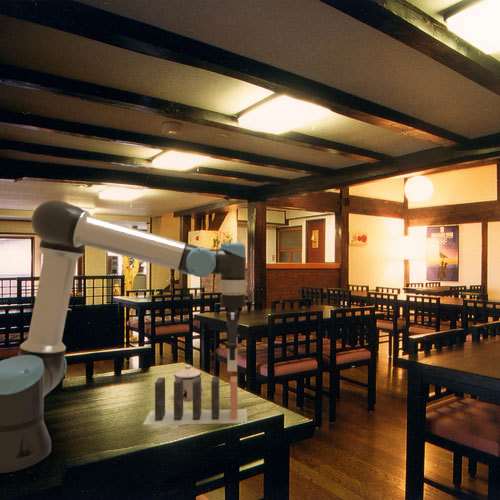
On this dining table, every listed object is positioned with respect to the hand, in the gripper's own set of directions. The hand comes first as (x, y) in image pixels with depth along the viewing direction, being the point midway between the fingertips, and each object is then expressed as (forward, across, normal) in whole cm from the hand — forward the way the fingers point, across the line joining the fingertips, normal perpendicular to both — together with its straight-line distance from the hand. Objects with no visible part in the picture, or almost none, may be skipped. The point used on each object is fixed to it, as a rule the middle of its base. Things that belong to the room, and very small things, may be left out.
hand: (232, 364), depth 117 cm
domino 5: (+15, 0, 0) cm, 15 cm away
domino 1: (+16, 0, +22) cm, 27 cm away
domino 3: (+16, 0, +11) cm, 19 cm away
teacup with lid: (+17, +16, +15) cm, 27 cm away
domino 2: (+16, 0, +16) cm, 22 cm away
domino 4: (+15, 0, +5) cm, 16 cm away
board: (+16, 0, +11) cm, 20 cm away
